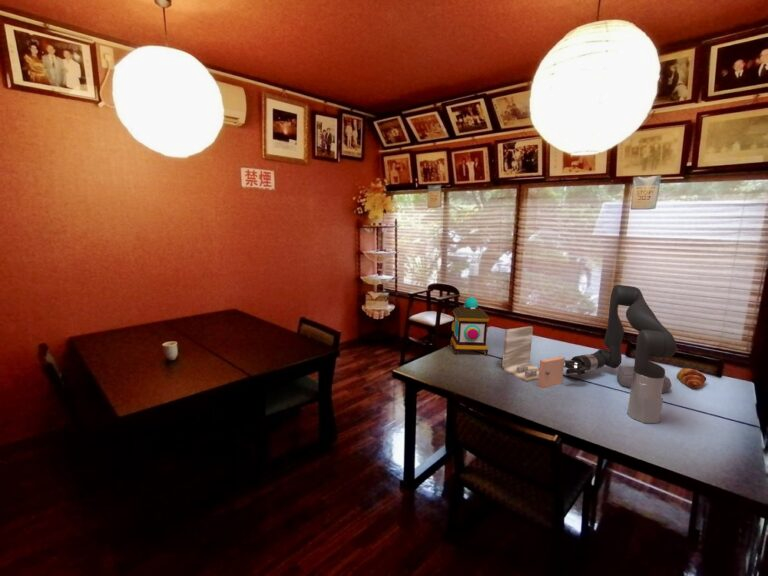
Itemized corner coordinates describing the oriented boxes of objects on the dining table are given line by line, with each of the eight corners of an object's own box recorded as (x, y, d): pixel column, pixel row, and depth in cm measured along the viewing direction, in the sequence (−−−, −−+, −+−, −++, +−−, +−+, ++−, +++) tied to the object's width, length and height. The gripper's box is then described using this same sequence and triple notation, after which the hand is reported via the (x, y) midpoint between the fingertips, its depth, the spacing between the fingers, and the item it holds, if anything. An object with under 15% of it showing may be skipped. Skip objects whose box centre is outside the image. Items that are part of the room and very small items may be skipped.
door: (563, 384, 165) (566, 359, 163) (543, 389, 161) (546, 362, 158) (557, 381, 168) (560, 356, 166) (537, 385, 164) (540, 360, 161)
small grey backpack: (619, 388, 163) (675, 398, 155) (621, 370, 161) (678, 379, 153) (613, 375, 176) (665, 383, 168) (616, 359, 175) (668, 366, 167)
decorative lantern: (490, 357, 197) (494, 301, 191) (453, 356, 197) (456, 300, 191) (481, 344, 216) (485, 293, 211) (447, 343, 217) (450, 293, 211)
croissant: (677, 379, 181) (670, 364, 182) (702, 374, 176) (695, 358, 177) (685, 396, 163) (677, 379, 164) (714, 391, 158) (705, 373, 159)
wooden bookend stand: (551, 376, 173) (556, 335, 170) (525, 382, 167) (529, 339, 163) (527, 364, 187) (530, 326, 184) (502, 369, 181) (505, 329, 177)
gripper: (572, 350, 178) (546, 354, 171) (599, 361, 165) (573, 366, 158) (570, 365, 179) (545, 370, 172) (597, 376, 166) (571, 382, 160)
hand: (558, 368), depth 165 cm, fingers open, 8 cm apart
